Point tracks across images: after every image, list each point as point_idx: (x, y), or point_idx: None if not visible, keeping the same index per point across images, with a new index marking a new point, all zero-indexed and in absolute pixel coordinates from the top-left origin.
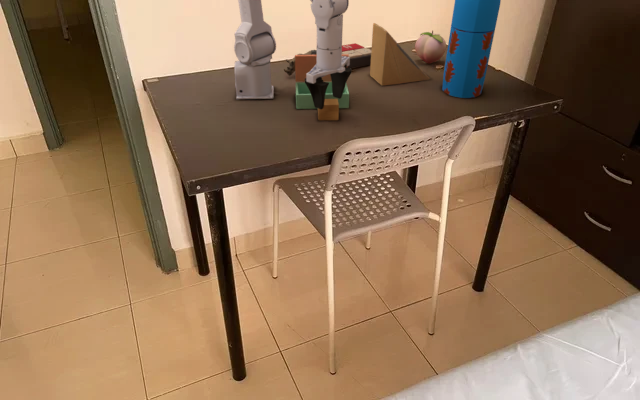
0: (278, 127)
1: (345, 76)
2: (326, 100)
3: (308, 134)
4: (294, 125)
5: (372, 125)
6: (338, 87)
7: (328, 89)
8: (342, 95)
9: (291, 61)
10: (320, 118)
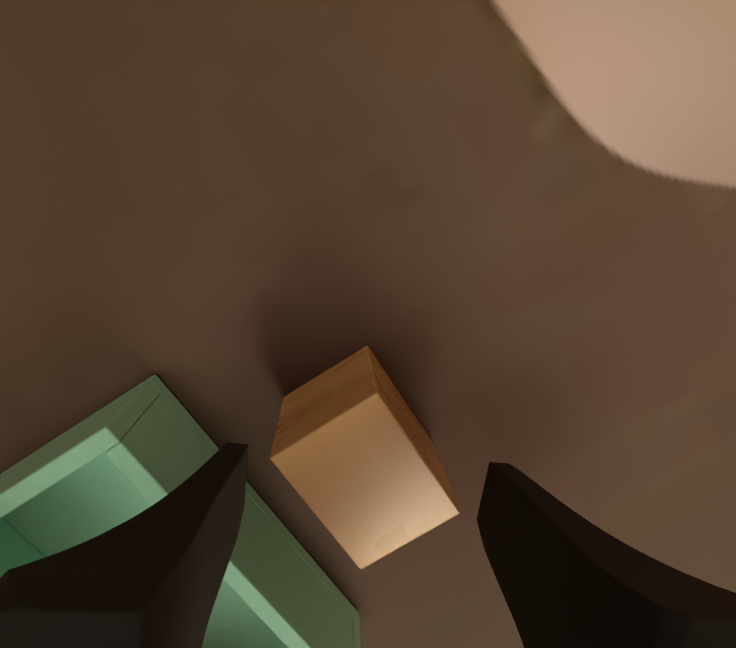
0: None
1: (171, 574)
2: (351, 509)
3: (624, 402)
4: None
5: (315, 86)
6: (221, 529)
7: None
8: (150, 463)
9: None
10: (429, 442)
